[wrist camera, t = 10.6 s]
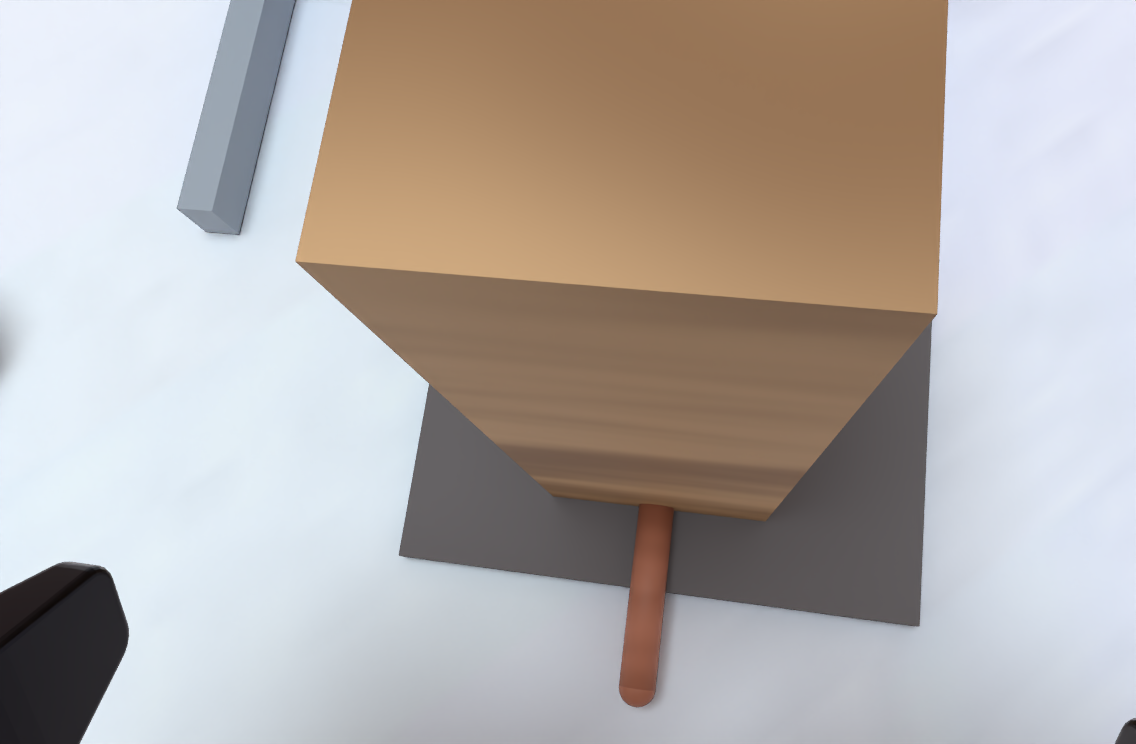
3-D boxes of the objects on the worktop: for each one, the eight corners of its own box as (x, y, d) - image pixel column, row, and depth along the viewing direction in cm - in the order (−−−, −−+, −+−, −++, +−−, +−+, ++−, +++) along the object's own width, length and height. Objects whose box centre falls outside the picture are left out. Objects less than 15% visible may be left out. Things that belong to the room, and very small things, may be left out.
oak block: (749, 722, 20) (913, 992, 6) (527, 688, 21) (167, 849, 6) (781, 316, 22) (955, -234, 8) (579, 299, 23) (402, -230, 9)
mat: (915, 625, 20) (919, 626, 20) (403, 556, 22) (398, 555, 22) (928, 310, 22) (932, 304, 22) (454, 270, 24) (450, 264, 24)
